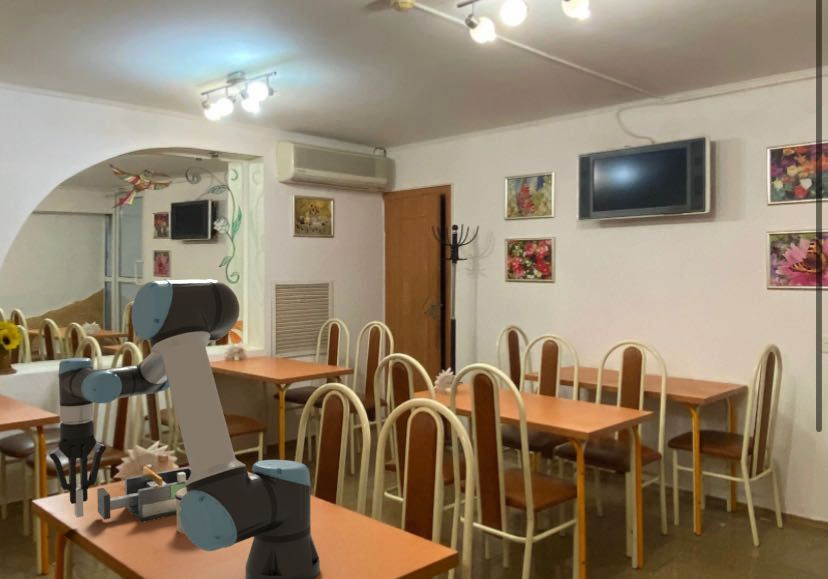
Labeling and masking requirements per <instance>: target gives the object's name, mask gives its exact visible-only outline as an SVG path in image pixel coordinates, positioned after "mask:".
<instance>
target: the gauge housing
mask: <svg viewBox="0 0 828 579" xmlns="http://www.w3.org/2000/svg"><path fill="white" fill-rule="evenodd" d="M180 472H184V473H186V481H185V482H178V481H177V473H180ZM155 473H156V474H157V475H158V476H160V477H161V478H162V481H164V482H165V483H166V484H164V485H162V486H154V487H149V488H146V482H151V481H153V480H151V479H150V478H149V477H148V476H146V475H145V474H140V475H136V476H135V475H134V476H130V477H125V478H124V495H128V494H133V493H138V505H134V506H129V507H125V509H126V508H127V509H128V510H129V511H130V512H131V513H132V514H133V515H134V516H135V517H136V518H137V519H138V520H139V521H140V522H141V523H145V522H144V521H146V522H150V521H154V520H153V519H155V520H159V519H163V518H162V517H164V518H168V517H173V516H177V506H176V497H175V495H176V493H177V491H179V490H180V489H183V488H185V487H186V485H185V484H186V482H187V481H188V479H189V477H190V475H191V470H190V466H189V465H188V466H184V467H180V468H179V467H178V468H175V469H173V468H172V469H168V470H162V471H157V472H155ZM127 509H126V510H127ZM128 510H127V511H128ZM129 511H128V512H129ZM130 512H129V513H130ZM131 513H130V514H131ZM132 514H131V515H132ZM133 515H132V516H133ZM172 515H173V516H172ZM134 516H133V517H134ZM135 517H134V518H135ZM136 518H135V519H136ZM158 518H159V519H158ZM137 519H136V520H137ZM149 520H150V521H149ZM139 521H138V522H139ZM140 522H139V523H140Z"/></svg>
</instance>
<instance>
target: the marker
mask: <svg viewBox="0 0 828 579" xmlns="http://www.w3.org/2000/svg"><path fill="white" fill-rule="evenodd" d="M177 481H178V482H185V481H186V473H184V472H180V473H177Z"/></svg>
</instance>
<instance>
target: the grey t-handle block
mask: <svg viewBox="0 0 828 579" xmlns="http://www.w3.org/2000/svg"><path fill="white" fill-rule="evenodd" d="M142 469H143V470H142V471H143V473H142V474H143V475H146V476H148V477H149V478H150V479H151V480H153V481H151V482H146V488H149V487H154V486H162V485H164V484H166V483H165V482H164V481H162V478H161V477H160V476H158V475H157V474H156V472H154V471H153V470H152V469H150V468H149V467H147V466H146V465H145V466H143V467H142ZM96 495H97V496H96V497H97V513H98V514H99V516H101V518H102V519H103V520H105V521H106V520H109V519H111V511H113V510H119V509H125V508H126V507H129V506H134V505H138V493H133V494H128V495H125V494H124V495H123V494H122V495H119V496H114V497H111V494H110V493H109V492H108V491H107V490H106V489H105V488H104V487H101V488H97V493H96Z"/></svg>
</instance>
